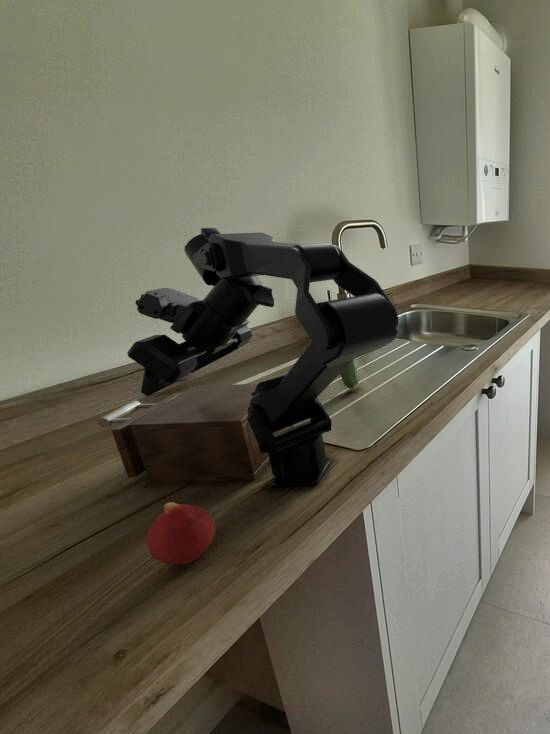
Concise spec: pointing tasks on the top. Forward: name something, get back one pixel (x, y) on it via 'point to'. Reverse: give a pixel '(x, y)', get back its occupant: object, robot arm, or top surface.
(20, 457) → the top surface
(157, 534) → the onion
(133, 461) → the drawer
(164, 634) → the top surface
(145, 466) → the cabinet
